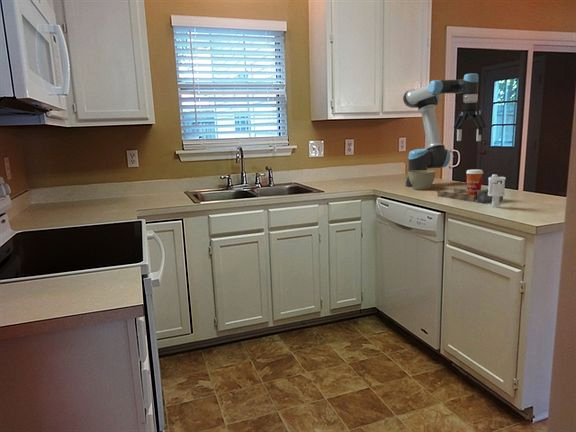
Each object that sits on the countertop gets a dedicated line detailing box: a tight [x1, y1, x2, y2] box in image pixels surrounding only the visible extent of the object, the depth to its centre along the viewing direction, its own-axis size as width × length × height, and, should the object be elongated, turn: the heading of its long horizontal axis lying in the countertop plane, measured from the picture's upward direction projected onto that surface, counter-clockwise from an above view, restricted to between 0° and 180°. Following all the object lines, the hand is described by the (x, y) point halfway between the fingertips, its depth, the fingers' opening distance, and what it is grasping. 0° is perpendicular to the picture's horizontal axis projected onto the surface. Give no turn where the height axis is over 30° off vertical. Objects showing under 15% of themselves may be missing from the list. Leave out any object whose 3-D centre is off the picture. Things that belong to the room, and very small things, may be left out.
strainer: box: [487, 174, 506, 208], centre depth 199 cm, size 7×7×15 cm
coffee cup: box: [465, 169, 484, 201], centre depth 222 cm, size 8×8×15 cm
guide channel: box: [437, 187, 504, 205], centre depth 225 cm, size 30×14×6 cm, turn 26°
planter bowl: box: [407, 169, 437, 191], centre depth 263 cm, size 16×16×11 cm
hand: (468, 140), depth 244 cm, fingers open, 13 cm apart
